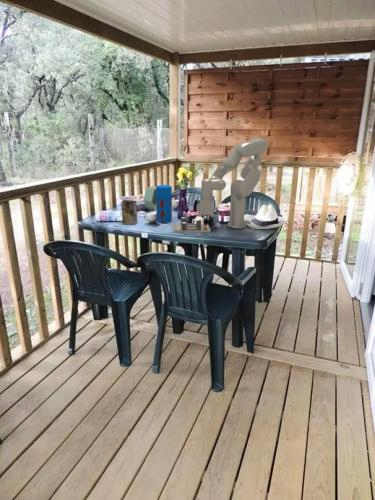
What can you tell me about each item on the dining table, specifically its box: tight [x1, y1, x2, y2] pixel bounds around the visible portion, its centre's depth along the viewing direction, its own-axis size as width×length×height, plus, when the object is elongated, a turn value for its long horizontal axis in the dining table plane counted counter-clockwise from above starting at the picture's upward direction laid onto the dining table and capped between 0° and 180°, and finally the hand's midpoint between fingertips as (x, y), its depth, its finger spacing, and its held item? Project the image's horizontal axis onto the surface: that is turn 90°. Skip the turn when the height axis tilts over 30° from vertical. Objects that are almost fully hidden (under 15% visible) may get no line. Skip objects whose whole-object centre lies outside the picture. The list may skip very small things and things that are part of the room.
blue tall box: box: [156, 184, 173, 224], centre depth 250 cm, size 11×11×25 cm
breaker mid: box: [195, 219, 202, 227], centre depth 236 cm, size 3×2×4 cm
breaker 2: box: [182, 222, 187, 229], centre depth 230 cm, size 3×2×4 cm
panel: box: [172, 222, 211, 234], centre depth 237 cm, size 24×16×2 cm, turn 94°
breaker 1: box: [180, 216, 187, 224], centre depth 241 cm, size 3×2×4 cm
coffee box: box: [120, 199, 138, 226], centre depth 245 cm, size 9×6×16 cm
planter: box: [143, 185, 157, 211], centre depth 285 cm, size 17×8×21 cm
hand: (205, 224), depth 236 cm, fingers closed
